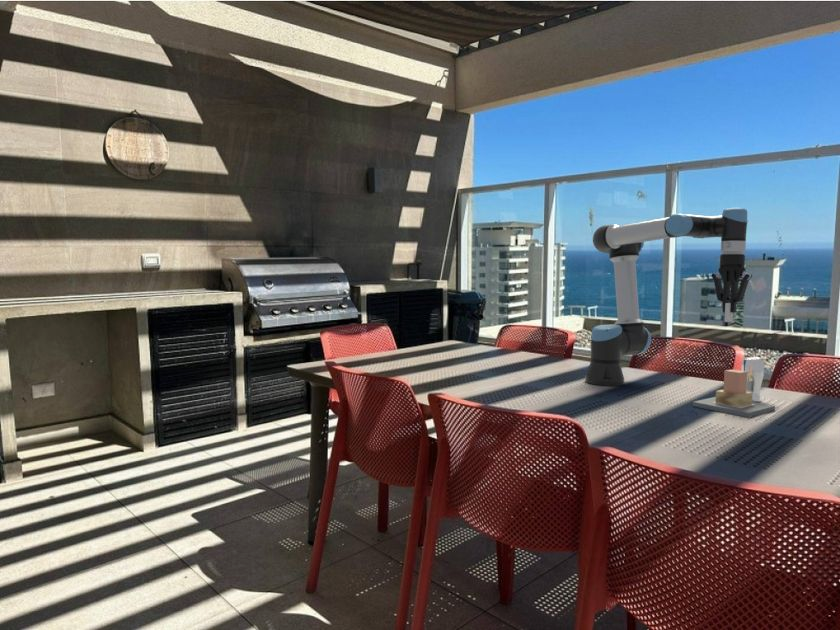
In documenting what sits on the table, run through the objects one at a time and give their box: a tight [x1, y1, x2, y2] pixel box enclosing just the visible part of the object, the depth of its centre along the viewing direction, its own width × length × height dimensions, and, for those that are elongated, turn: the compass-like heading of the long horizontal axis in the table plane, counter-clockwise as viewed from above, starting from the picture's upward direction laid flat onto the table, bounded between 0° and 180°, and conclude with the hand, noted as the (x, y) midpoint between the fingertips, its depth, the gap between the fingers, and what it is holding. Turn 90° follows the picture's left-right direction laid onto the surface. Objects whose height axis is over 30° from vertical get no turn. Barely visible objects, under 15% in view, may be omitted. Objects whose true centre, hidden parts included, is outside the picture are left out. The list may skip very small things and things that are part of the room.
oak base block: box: [715, 389, 752, 407], centre depth 189 cm, size 8×8×4 cm
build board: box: [692, 396, 776, 419], centre depth 189 cm, size 18×18×2 cm
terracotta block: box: [722, 369, 747, 394], centre depth 189 cm, size 5×5×7 cm
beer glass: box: [740, 356, 765, 403], centre depth 202 cm, size 7×7×15 cm
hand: (728, 321), depth 197 cm, fingers closed
